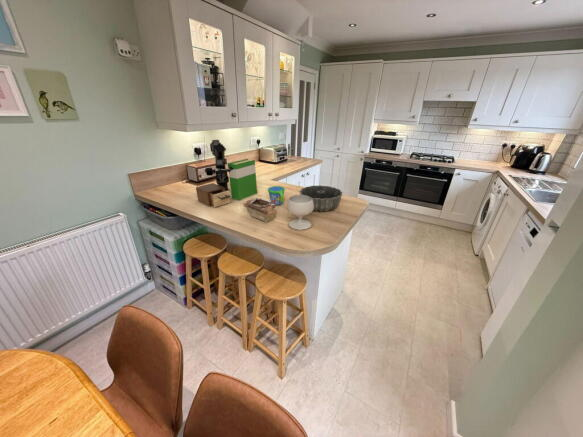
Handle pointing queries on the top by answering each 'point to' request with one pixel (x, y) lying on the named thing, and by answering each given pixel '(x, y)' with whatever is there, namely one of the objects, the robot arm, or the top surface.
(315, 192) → the bundt pan
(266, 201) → the lined basket
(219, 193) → the drawer
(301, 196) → the chalice
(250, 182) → the green cereal box
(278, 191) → the snack cup
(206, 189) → the cabinet
